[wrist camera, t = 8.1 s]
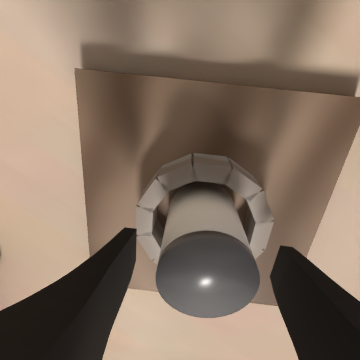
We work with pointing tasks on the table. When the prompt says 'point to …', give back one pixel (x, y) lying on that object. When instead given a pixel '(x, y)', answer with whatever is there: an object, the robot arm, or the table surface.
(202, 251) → the plug
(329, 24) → the table surface
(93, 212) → the board with ring socket
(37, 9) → the table surface
